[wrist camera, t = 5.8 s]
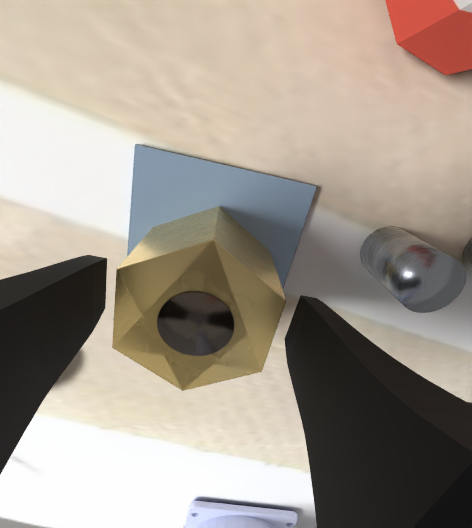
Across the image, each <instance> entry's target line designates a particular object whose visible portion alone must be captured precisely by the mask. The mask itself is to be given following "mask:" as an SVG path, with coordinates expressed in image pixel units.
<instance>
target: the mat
mask: <svg viewBox="0 0 472 528" xmlns="http://www.w3.org/2000/svg"><path fill="white" fill-rule="evenodd" d="M316 187H317V186H315V185H311V184H307V183H303V182H298V181H294V180H290V179H285V178H281V177H277V176H272V175H268V174H264V173H260V172H255V171H251V170H247V169H242V168H238V167H234V166H229V165H225V164H221V163H216V162H212V161H208V160H204V159H199V158H195V157H191V156H186V155H182V154H178V153H173V152H169V151H165V150H160V149H156V148H152V147H148V146H143V145H139V144H135V153H134V167H133V182H132V196H131V210H130V225H129V239H128V254H127V257H128V255H129V254H130V253H131V252H132V251H133V250H134V248H135V247H136V246H137V245H138V244H139V243H140V241H141V240H142V239H143V238H144V237H145V236H146V234H147V233H148V232H149V231H150V230H151V229H152V227H154V226H158V225H161V224H164V223H167V222H170V221H173V220H176V219H180V218H183V217H186V216H189V215H192V214H195V213H199V212H202V211H205V210H208V209H211V208H214V207H218V206H220V207H221V208H222V209H223V210H224V211H226V212H227V213H228V214H229V215H230V216H231V217H232V218H233V219H235V220H236V221H237V222H238V223H239V224H240V225H241V226H242V227H244V228H245V229H246V230H247V231H248V232H249V233H250V234H251V235H252V236H254V237H255V238H256V239H257V240H258V241H259V242H260V243H261V244H263V245H264V246H265V247H266V248H267V249H268V250H269V251H270V253H271V256H272V259H273V262H274V265H275V268H276V271H277V274H278V277H279V280H280V284H281V287H282V290H283V287H284V284H285V281H286V278H287V275H288V272H289V269H290V266H291V263H292V260H293V257H294V254H295V251H296V248H297V245H298V242H299V239H300V236H301V233H302V230H303V227H304V224H305V220H306V217H307V214H308V211H309V208H310V205H311V202H312V199H313V196H314V193H315V190H316Z"/></svg>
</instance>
